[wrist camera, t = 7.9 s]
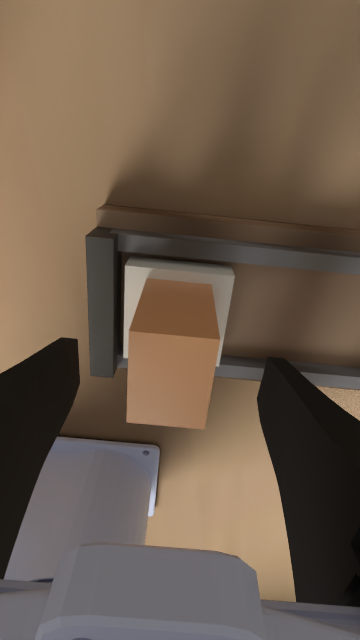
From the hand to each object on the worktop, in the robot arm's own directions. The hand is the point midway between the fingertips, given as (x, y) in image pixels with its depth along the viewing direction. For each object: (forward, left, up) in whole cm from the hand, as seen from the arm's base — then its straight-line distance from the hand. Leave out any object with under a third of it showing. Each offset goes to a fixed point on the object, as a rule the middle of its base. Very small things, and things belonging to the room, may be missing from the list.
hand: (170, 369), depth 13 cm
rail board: (+6, 0, -7) cm, 9 cm away
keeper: (0, 0, -6) cm, 5 cm away
